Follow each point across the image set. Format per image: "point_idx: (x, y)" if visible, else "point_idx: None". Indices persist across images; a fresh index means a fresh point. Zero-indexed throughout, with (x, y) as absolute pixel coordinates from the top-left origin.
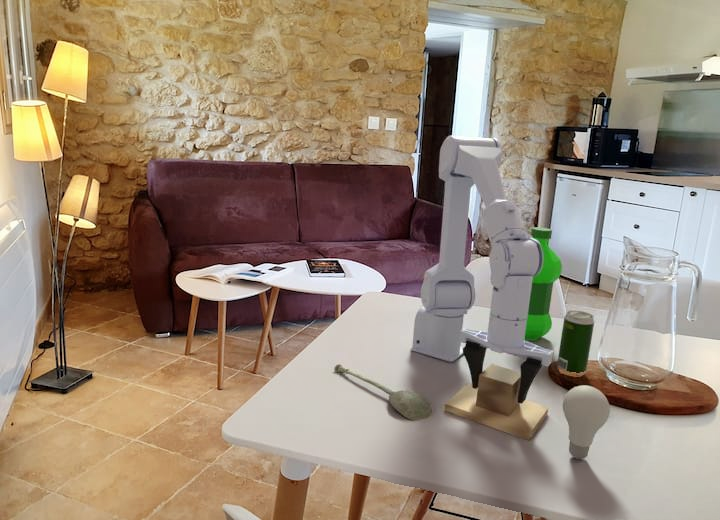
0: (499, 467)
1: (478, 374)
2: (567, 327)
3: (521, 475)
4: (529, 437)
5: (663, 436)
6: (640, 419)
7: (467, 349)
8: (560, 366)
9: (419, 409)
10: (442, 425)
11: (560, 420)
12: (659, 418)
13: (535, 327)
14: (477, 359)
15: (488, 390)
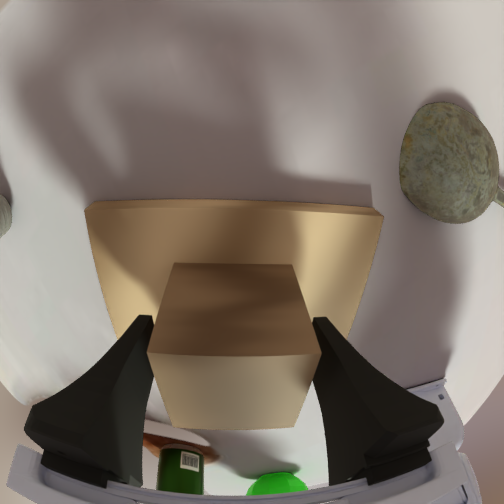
0: (116, 13)
1: (325, 367)
2: None
3: (63, 31)
4: (90, 205)
5: (4, 354)
6: (42, 384)
7: (424, 432)
8: (193, 456)
9: (436, 140)
10: (353, 114)
11: (98, 335)
12: (36, 392)
13: (263, 492)
14: (356, 416)
15: (259, 310)
